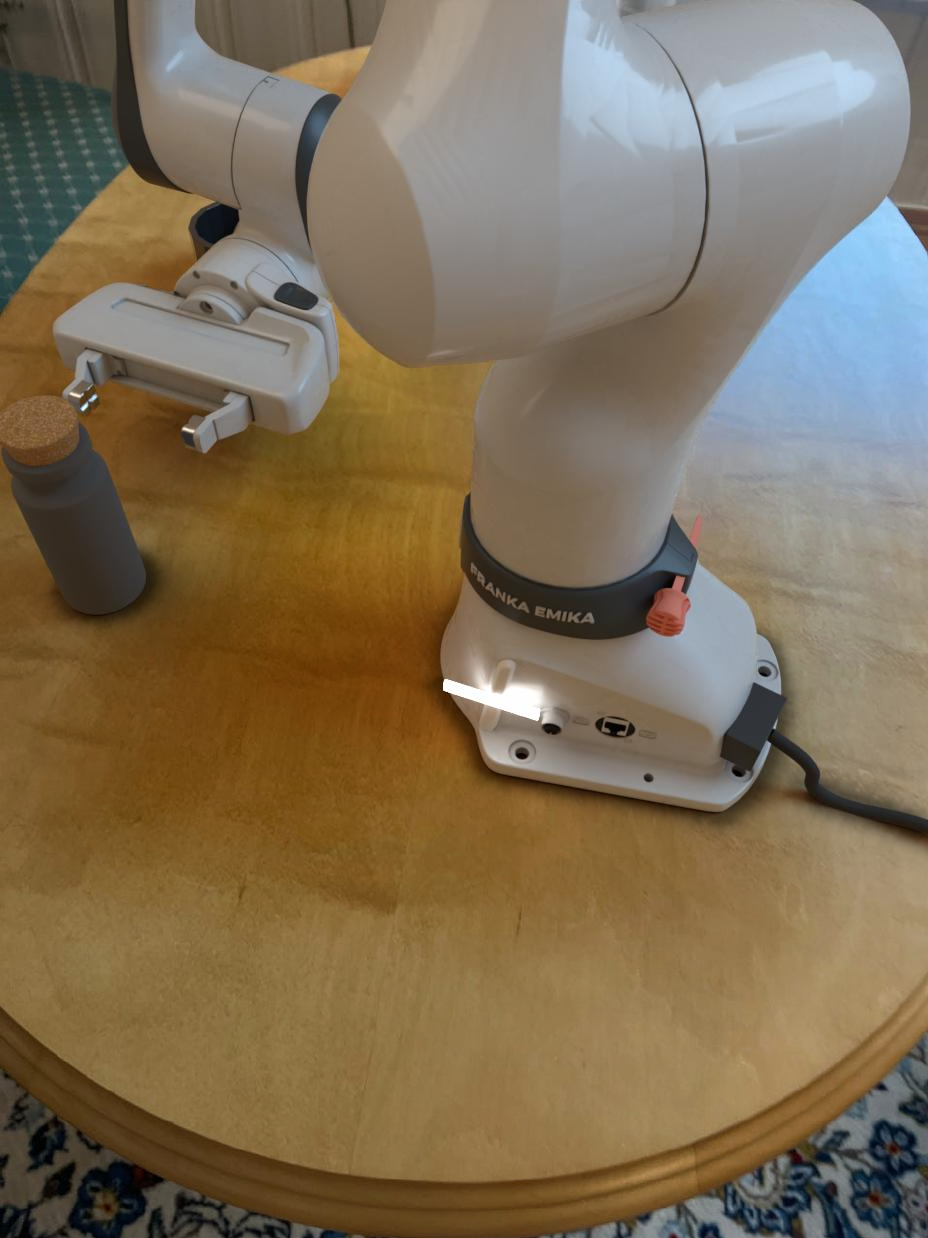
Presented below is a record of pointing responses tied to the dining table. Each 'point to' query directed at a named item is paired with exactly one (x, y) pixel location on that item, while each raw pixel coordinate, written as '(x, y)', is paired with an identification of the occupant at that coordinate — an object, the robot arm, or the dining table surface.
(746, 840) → the dining table surface
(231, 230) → the tube
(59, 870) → the dining table surface
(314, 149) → the robot arm
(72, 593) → the bottle
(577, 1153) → the dining table surface
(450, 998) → the dining table surface
